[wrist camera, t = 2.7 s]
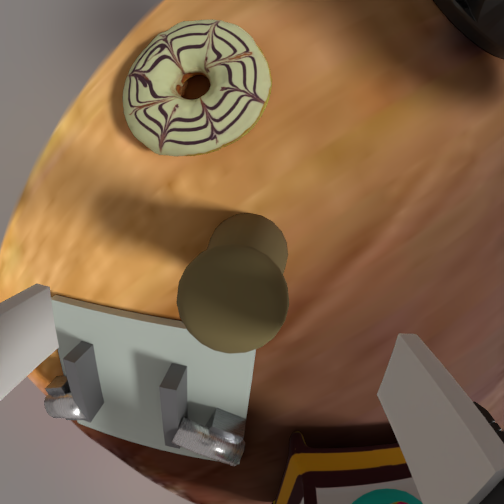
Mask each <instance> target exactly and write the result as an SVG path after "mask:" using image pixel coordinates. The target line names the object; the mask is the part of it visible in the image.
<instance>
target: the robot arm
mask: <svg viewBox="0 0 504 504" xmlns="http://www.w3.org/2000/svg"><path fill="white" fill-rule="evenodd" d="M434 1H435V3H436V4H437V5H438V7H439V8H440V9H441V10H442V12H443V13H444V14H445V15H446V16H447V17H448V19H449V20H450V21H451V22H452V23H453V24H454V25H455V26H456V27H457V28H458V29H459V30H460V31H461V32H462V33H463V34H465V35H466V36H467V37H468V38H469V39H470V40H472V41H473V42H474V43H475V44H477V45H478V46H479V47H481V48H482V49H484V50H485V51H487V52H489V53H490V54H492V55H494V56H496V57H499V58H501V59H504V0H434ZM57 348H59V345H58V340H57V334H56V329H55V323H54V316H53V310H52V302H51V294H50V287H48V286H44V285H40V284H35V285H33V286H31V287H29V288H27V289H26V290H24V291H22V292H20V293H18V294H16V295H14V296H12V297H11V298H9V299H7V300H5V301H3V302H1V303H0V401H1V400H2V399H3V398H4V397H5V396H6V395H7V394H8V393H9V392H10V391H11V390H12V389H13V388H14V387H16V386H17V385H18V384H19V383H20V382H21V381H22V380H23V379H24V378H25V377H26V376H27V375H28V374H30V373H31V372H32V371H33V370H34V369H35V368H36V367H37V366H38V365H39V364H41V363H42V362H43V361H44V360H45V359H46V358H47V357H48V356H50V355H51V354H52V353H53V352H54V351H55V350H56V349H57ZM377 396H378V398H379V400H380V402H381V404H382V407H383V409H384V411H385V413H386V416H387V418H388V420H389V422H390V425H391V427H392V429H393V432H394V434H395V436H396V439H397V441H398V443H399V446H400V448H401V450H402V453H403V455H404V458H405V460H406V462H407V465H408V467H409V470H410V472H411V475H412V477H413V480H414V482H415V485H416V487H417V490H418V493H419V495H420V498H421V500H422V503H423V504H504V432H503V431H502V432H501V428H500V427H499V425H498V424H497V423H495V420H494V419H493V417H492V416H491V415H490V414H489V412H488V411H487V410H486V409H484V408H483V407H482V406H480V405H479V404H478V403H476V402H472V400H471V399H470V398H469V397H468V395H467V394H466V393H465V392H464V390H463V389H462V388H461V387H460V385H459V384H458V383H457V382H456V380H455V379H454V378H453V377H452V376H451V374H450V373H449V372H448V371H447V370H446V368H445V367H444V366H443V365H442V364H441V362H440V361H439V360H438V359H437V358H436V356H435V355H434V354H433V353H432V352H431V351H430V349H429V348H428V347H427V346H426V345H425V344H424V342H423V341H422V340H421V339H420V338H419V337H418V336H417V334H398V337H397V340H396V343H395V347H394V350H393V353H392V355H391V358H390V361H389V364H388V367H387V370H386V372H385V375H384V378H383V380H382V383H381V386H380V388H379V391H378V393H377Z"/></svg>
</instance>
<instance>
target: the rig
mask: <svg viewBox="0 0 504 504" xmlns="http://www.w3.org/2000/svg"><path fill="white" fill-rule="evenodd" d="M51 302H52V310H53V316H54V323H55V329H56V334H57V340H58V345H59V348H58V353H59V357H60V362H61V366H62V370H63V374H64V375H67V379H68V383H69V387H70V390H71V394H72V397H73V401H74V402H75V404H76V405H77V406H78V408H79V409H80V411H81V412H82V414H83V415H84V416H85V419H82V420H77V421H78V423H79V424H82V425H84V426H87V427H90V428H92V429H95V430H98V431H100V432H103V433H106V434H109V435H112V436H115V437H118V438H121V439H124V440H127V441H131V442H134V443H137V444H141V445H145V446H148V447H152V448H156V449H160V450H164V451H168V452H172V453H177V454H181V455H186V456H191V457H196V458H201V459H207V460H213V461H216V460H214V459H211V458H208V457H205V456H203V455H200V454H198V453H195V452H192V451H190V450H187V449H185V448H183V447H180V446H178V445H176V444H173V443H171V442H172V440H173V438H174V436H175V435H176V433H177V431H178V429H179V427H180V424H181V421H182V418H183V417H185V418H187V419H189V420H192V421H194V422H196V423H199V424H201V425H204V426H205V425H206V423H207V422H208V420H209V419H210V417H211V416H212V414H213V413H214V411H215V409H216V408H220V409H222V410H225V411H227V412H230V413H232V414H235V415H237V416H240V417H243V418H245V419H246V416H247V409H248V402H249V395H250V388H251V381H252V374H253V367H254V359H255V352H256V349H255V350H252V351H249V352H246V353H232V354H228V353H223V352H219V351H214V350H212V349H210V348H208V347H207V346H205V345H203V344H201V343H200V342H199V341H198V340H197V339H196V338H194V337H193V336H192V335H191V334H190V333H189V332H188V330H187V329H186V327H185V325H184V323H183V322H182V321H178V320H172V319H166V318H160V317H155V316H150V315H144V314H139V313H134V312H129V311H124V310H119V309H115V308H110V307H105V306H101V305H96V304H92V303H88V302H84V301H79V300H75V299H71V298H67V297H63V296H59V295H54V296H53V297H51ZM239 463H240V461H239V462H238V464H239Z"/></svg>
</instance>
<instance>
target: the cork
mask: <svg viewBox="0 0 504 504" xmlns="http://www.w3.org/2000/svg"><path fill="white" fill-rule="evenodd" d="M287 257H288V250H287V242H286V240H285V238H284V236H283V233H282V231H281V230H280V229H279V228H278V227H277V226H276V225H275V224H274V223H273V222H272V221H270V220H269V219H267V218H265V217H263V216H261V215H256V214H251V213H246V214H238V215H235V216H232V217H230V218H228V219H226V220H224V221H223V222H222V223H221V224H220V225H219V226H218V227H217V228H216V229H215V231H214V233H213V235H212V237H211V239H210V242H209V245H208V248H207V250H206V251H203V252H201V253H200V254H199V255H198V256H197V257H196V258H195V259H194V260H193V261H192V262H191V263H190V264H189V265H188V266H187V267H186V269H185V271H184V273H183V275H182V277H181V279H180V281H179V286H178V295H177V306H178V311H179V315H180V318H181V320H182V322H183V323H184V325H185V327H186V329H187V330H188V332H189V333H190V334H191V335H192V336H193V337H194V338H196V339H197V340H198V341H199V342H200V343H201V344H203V345H205V346H207V347H208V348H210V349H212V350H214V351H219V352H223V353H228V354H232V353H246V352H249V351H252V350H255V349H257V348H260V347H262V346H263V345H265V344H266V343H267V342H269V341H270V340H271V339H273V338H274V337H275V335H276V334H277V332H278V331H279V329H280V328H281V326H282V325H283V323H284V321H285V319H286V315H287V311H288V307H289V297H288V287H287V283H286V281H285V278H284V276H283V272H284V269H285V266H286V262H287Z"/></svg>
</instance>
